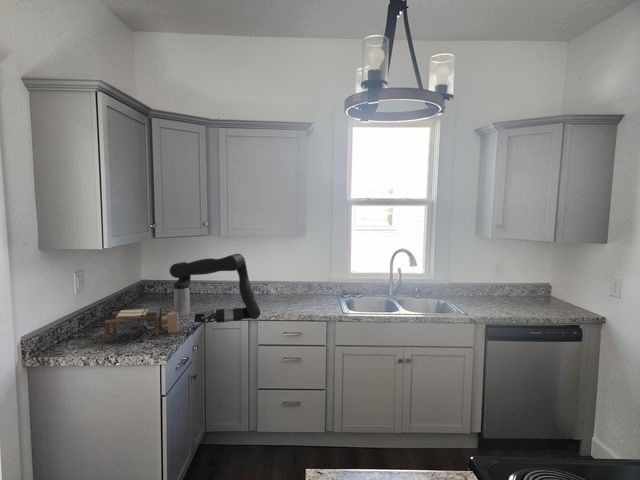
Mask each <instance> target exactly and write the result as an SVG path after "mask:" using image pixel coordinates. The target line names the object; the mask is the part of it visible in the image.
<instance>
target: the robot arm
mask: <svg viewBox="0 0 640 480" xmlns="http://www.w3.org/2000/svg"><path fill="white" fill-rule="evenodd" d="M234 271H236V272H237V274H238V275H237V276H238V279H239V282H238V283H239V284H238V285H239V286H238V287H239V290H238V291H239V294H240V297H241V299H242V302H243V304H244V305H245V307H237V308H236V307H235V308H218V309H215V311H214V310H212V311H203V312H201V313H195V314H194V318H193V319H194V323H203V324H208V323H214V322H216V323H217V324H218V323H219V324H220V323H230V322H235V321H236V322H237V321H241V320H248V319H250V320H251V319H252V320H257V319H258V318H260V316H261V309H260V307H259V304H258V303H257V300H256V297H255V295H254V291H253V289H252V286H251V283H250V279H249V274H248V269H247V262H246V260H245V257H244V255H242V254H241V253H233V254H231V255H227V256H225V257H221V258H212V257H211V258H202V259H197V260H193V261H191V262H186V261H182V262H176V263H174V264H172V265H171V266H170V268H169V274H170V275H171V276H172V277H173V278H175V279H177V281H175V282H174V283H173V301H174V302H173V303H174V304H173V305H174V312H178V316H179V317H185V316H188V315H190V314H191V299H190V298H191V297H190V296H191V295H190V292H191V291H190V284H191V280H192V279H191V277H192V276H197V275H198V276H200V275H201V276H202V275H210V274H214V273H218V272H234Z"/></svg>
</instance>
